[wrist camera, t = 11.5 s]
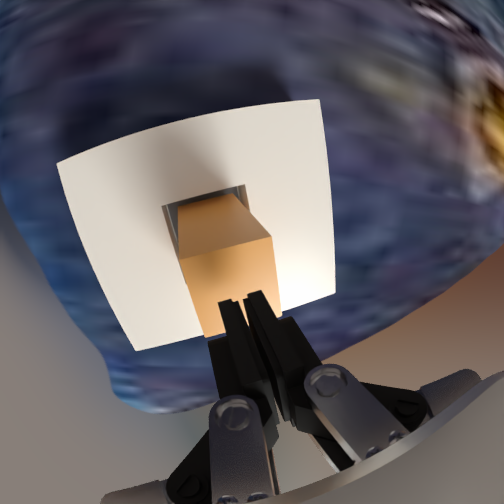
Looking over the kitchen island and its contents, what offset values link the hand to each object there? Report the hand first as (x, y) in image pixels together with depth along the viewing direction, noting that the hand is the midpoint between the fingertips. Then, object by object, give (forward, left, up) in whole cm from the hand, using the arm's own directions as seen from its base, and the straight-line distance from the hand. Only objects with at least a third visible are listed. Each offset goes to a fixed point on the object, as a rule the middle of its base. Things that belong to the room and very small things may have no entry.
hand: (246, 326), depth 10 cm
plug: (0, 0, -12) cm, 12 cm away
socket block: (0, 0, -14) cm, 14 cm away
